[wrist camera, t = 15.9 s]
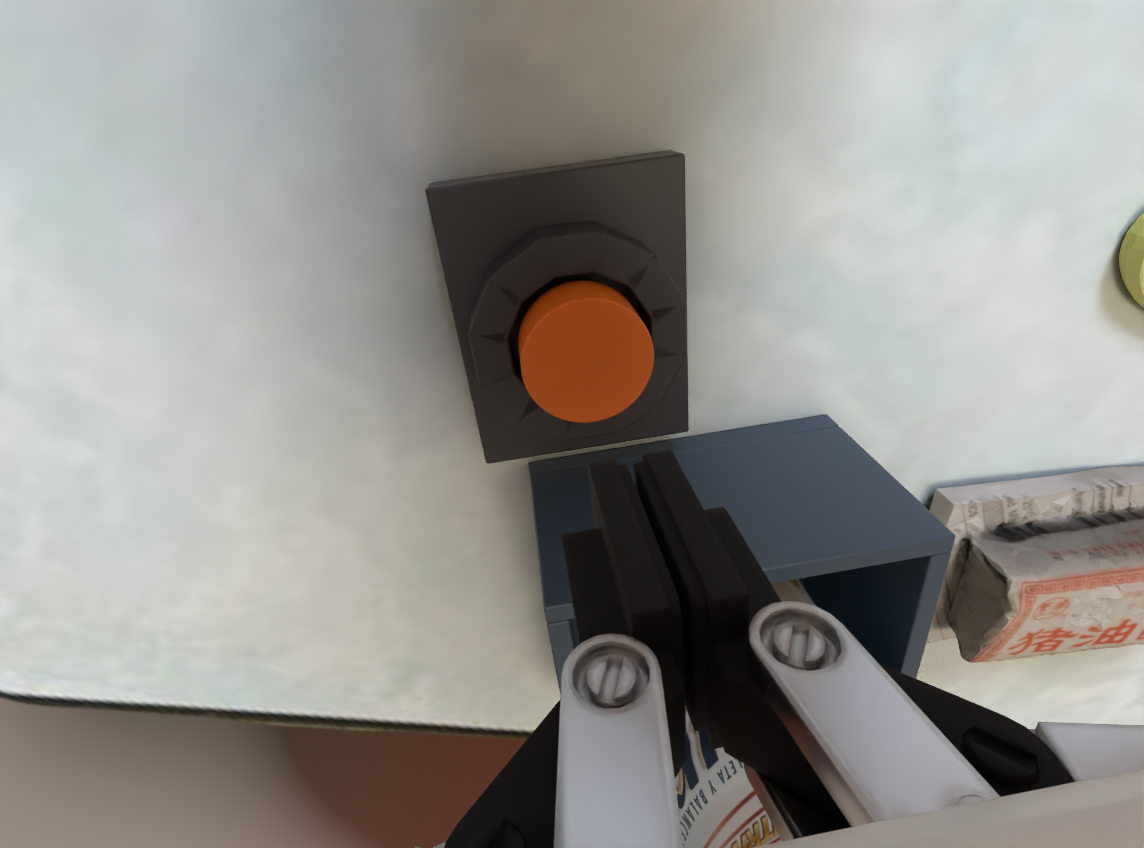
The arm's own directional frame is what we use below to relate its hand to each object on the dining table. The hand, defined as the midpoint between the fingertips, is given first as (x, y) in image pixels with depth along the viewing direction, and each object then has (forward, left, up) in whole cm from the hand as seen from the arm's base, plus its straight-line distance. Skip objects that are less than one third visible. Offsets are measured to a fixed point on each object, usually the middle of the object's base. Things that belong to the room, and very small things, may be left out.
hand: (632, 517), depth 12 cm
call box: (0, 0, -11) cm, 11 cm away
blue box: (+12, +4, -11) cm, 17 cm away
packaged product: (+16, +25, -12) cm, 32 cm away
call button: (0, 0, -9) cm, 9 cm away
